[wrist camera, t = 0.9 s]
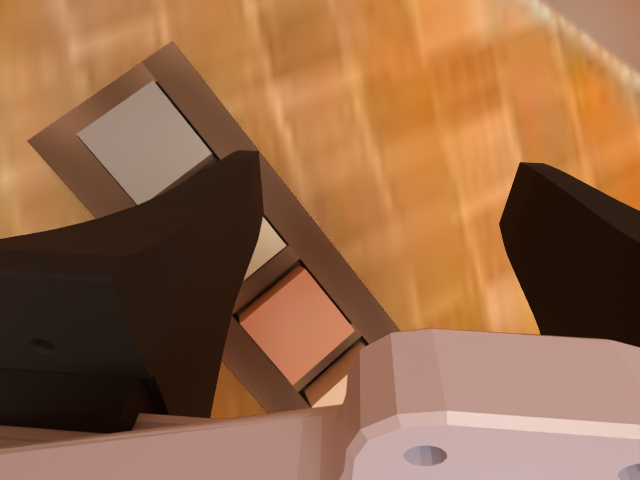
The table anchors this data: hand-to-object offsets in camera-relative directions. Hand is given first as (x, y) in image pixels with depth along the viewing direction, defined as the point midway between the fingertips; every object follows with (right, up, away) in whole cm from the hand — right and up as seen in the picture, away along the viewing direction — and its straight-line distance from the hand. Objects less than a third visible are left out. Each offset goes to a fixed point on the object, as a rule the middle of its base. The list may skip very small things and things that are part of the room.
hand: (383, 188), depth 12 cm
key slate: (-11, +3, +11) cm, 16 cm away
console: (-6, -4, +15) cm, 16 cm away
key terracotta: (-3, -6, +13) cm, 14 cm away
